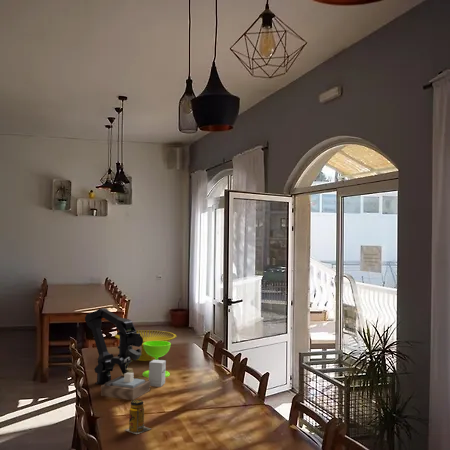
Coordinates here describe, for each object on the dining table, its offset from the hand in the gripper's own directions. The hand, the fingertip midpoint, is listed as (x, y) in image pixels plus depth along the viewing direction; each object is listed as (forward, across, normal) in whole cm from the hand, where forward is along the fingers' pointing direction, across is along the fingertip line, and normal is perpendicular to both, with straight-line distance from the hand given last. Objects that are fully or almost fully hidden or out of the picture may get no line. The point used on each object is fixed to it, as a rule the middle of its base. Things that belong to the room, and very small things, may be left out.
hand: (124, 374), depth 290 cm
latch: (+1, +3, 0) cm, 4 cm away
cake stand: (+8, +67, +23) cm, 71 cm away
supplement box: (+8, +14, -12) cm, 20 cm away
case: (+8, -7, -5) cm, 11 cm away
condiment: (+8, -51, -36) cm, 63 cm away
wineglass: (+8, +33, -2) cm, 34 cm away
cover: (+2, -7, -7) cm, 10 cm away
